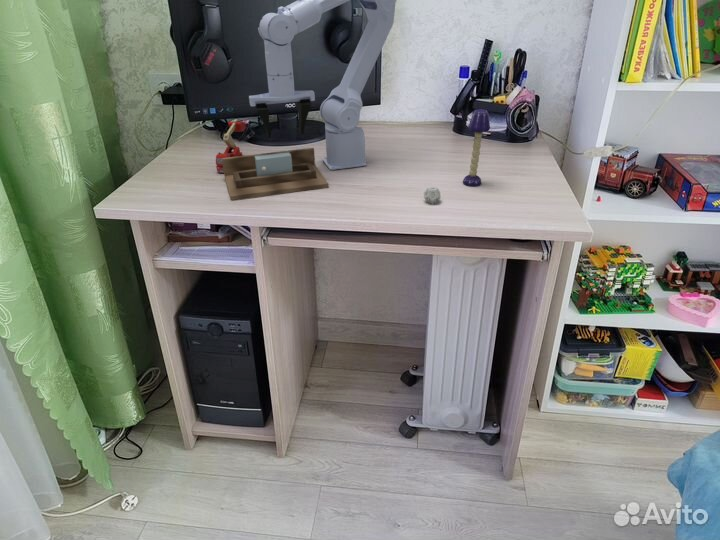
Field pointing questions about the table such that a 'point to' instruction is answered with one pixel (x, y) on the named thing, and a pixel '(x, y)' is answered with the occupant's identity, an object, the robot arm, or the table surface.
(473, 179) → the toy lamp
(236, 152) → the toy fire truck
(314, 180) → the track base
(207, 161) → the table surface
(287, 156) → the grey-blue rectangular block
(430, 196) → the game die
